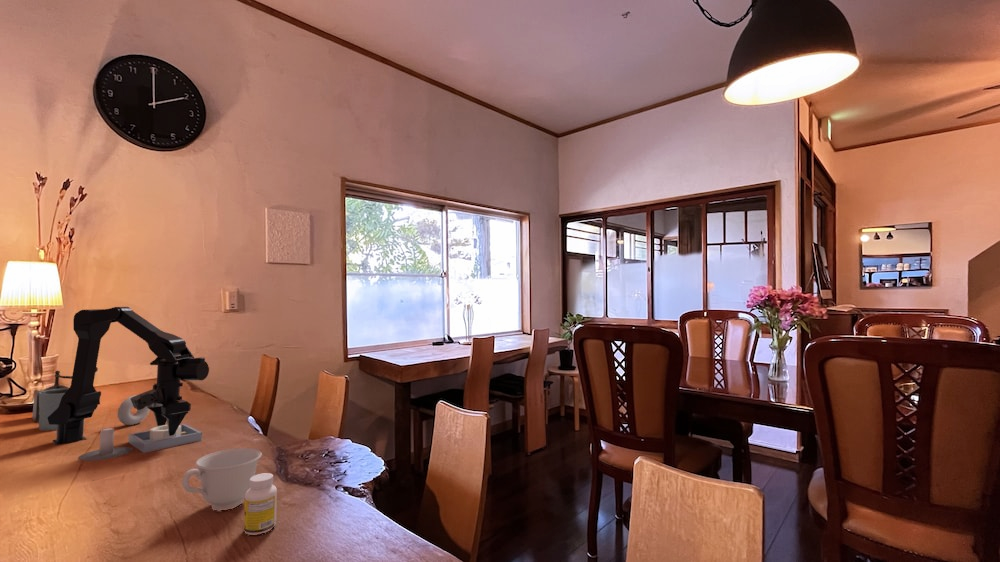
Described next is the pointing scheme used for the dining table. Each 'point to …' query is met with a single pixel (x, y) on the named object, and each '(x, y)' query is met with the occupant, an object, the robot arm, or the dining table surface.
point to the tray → (143, 438)
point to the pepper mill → (56, 386)
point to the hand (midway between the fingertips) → (166, 432)
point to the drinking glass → (49, 406)
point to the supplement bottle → (260, 504)
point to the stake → (105, 448)
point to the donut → (126, 415)
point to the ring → (163, 433)
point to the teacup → (224, 476)
